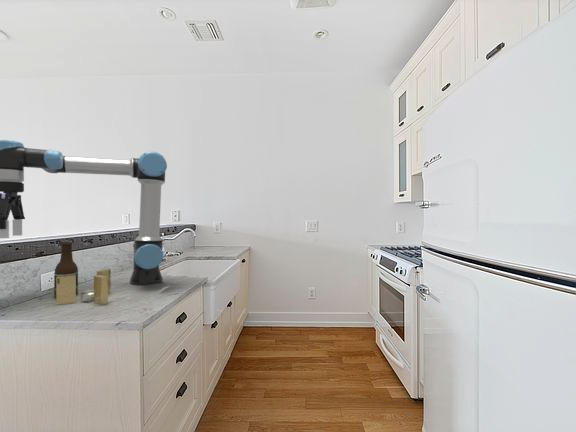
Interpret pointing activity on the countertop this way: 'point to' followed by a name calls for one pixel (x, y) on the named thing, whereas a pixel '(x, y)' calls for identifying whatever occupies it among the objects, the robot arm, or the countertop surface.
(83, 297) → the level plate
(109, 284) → the knob
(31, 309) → the countertop surface
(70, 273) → the beer bottle
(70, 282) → the tan rectangular block
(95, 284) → the knob
